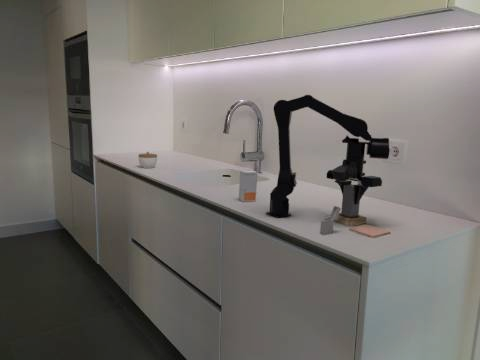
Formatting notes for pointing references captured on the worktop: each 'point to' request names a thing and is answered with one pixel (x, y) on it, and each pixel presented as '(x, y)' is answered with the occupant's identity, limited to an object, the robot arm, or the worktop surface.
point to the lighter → (329, 221)
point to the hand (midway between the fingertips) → (350, 203)
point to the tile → (369, 231)
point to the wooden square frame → (351, 219)
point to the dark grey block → (349, 201)
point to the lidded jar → (147, 160)
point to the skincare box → (247, 186)
